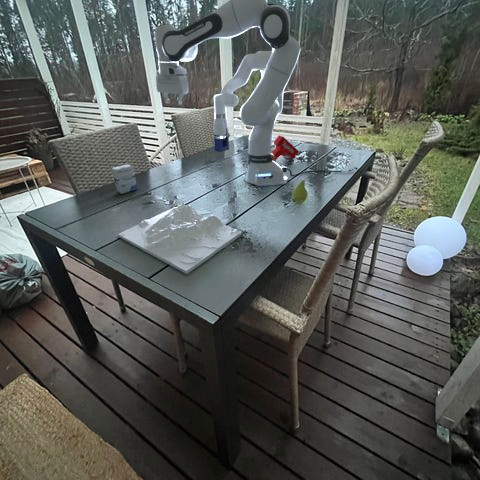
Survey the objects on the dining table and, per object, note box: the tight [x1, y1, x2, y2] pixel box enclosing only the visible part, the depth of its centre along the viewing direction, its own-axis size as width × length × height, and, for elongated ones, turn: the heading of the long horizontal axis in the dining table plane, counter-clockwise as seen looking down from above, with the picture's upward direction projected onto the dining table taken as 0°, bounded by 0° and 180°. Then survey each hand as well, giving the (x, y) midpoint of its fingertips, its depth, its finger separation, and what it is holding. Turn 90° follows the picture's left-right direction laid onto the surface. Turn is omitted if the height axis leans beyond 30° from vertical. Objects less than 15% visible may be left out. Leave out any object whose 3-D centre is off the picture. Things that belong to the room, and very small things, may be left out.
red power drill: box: [270, 134, 300, 163], centre depth 174 cm, size 18×4×15 cm
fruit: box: [291, 174, 311, 204], centre depth 118 cm, size 7×8×12 cm
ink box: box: [110, 164, 138, 195], centre depth 131 cm, size 8×5×12 cm, turn 135°
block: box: [213, 136, 230, 153], centre depth 182 cm, size 5×8×8 cm, turn 139°
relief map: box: [117, 202, 243, 275], centre depth 96 cm, size 27×35×5 cm
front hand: (173, 103), depth 130 cm, fingers open, 8 cm apart
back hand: (221, 145), depth 182 cm, fingers closed on block, 5 cm apart
